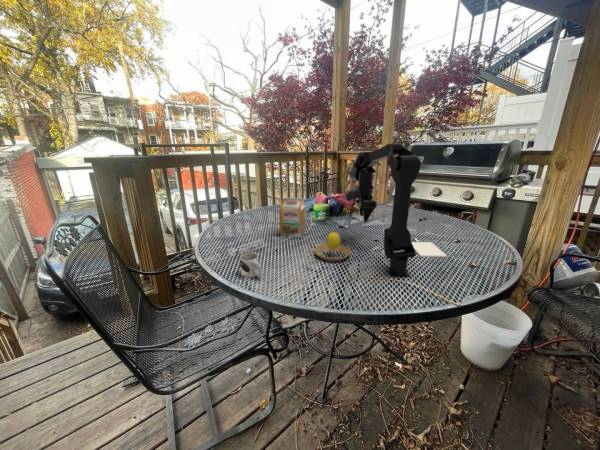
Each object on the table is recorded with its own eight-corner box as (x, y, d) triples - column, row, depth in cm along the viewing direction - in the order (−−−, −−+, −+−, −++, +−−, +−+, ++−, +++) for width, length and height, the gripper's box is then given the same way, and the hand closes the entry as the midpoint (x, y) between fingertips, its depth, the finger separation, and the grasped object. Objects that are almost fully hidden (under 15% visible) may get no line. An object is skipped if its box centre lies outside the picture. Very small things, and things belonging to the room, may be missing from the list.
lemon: (330, 246, 107) (331, 228, 104) (341, 249, 104) (343, 231, 101) (323, 250, 103) (324, 232, 100) (335, 254, 100) (336, 235, 97)
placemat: (446, 257, 100) (446, 255, 100) (420, 256, 101) (420, 255, 101) (431, 243, 113) (431, 242, 113) (408, 243, 114) (408, 242, 114)
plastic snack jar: (280, 237, 124) (278, 199, 118) (286, 230, 134) (285, 195, 128) (301, 239, 122) (300, 200, 116) (306, 232, 132) (305, 196, 126)
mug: (237, 273, 91) (235, 256, 89) (252, 267, 95) (251, 251, 93) (253, 283, 84) (251, 265, 82) (269, 276, 88) (268, 259, 86)
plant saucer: (309, 252, 108) (308, 246, 107) (339, 246, 113) (339, 241, 112) (324, 267, 95) (324, 260, 94) (357, 260, 100) (358, 254, 99)
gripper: (343, 180, 115) (342, 213, 120) (348, 186, 98) (347, 225, 102) (368, 179, 115) (366, 213, 119) (378, 186, 97) (375, 225, 102)
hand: (363, 218), depth 111 cm, fingers open, 9 cm apart
